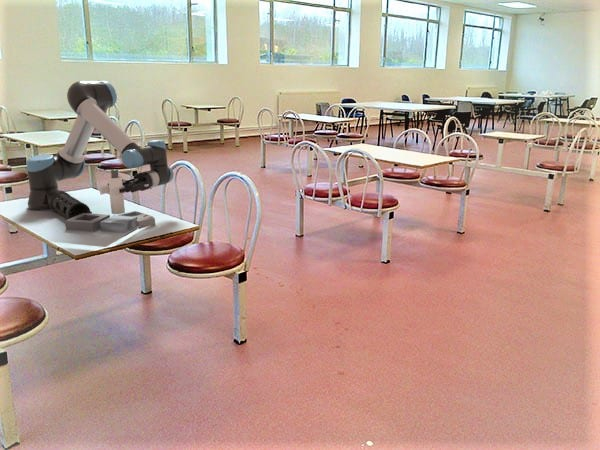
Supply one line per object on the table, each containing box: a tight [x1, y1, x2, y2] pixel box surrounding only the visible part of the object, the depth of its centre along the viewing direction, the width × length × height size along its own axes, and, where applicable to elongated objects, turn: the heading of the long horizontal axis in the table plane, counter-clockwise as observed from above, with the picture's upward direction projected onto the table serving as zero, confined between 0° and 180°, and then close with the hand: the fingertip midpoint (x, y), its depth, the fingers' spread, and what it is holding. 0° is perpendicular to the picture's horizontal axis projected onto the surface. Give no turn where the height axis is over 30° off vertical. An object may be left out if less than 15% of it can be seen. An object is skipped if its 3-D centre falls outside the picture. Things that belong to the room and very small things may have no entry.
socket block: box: [64, 212, 111, 233], centre depth 208 cm, size 12×12×5 cm
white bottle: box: [107, 168, 126, 215], centre depth 202 cm, size 5×5×17 cm
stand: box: [100, 214, 138, 237], centre depth 206 cm, size 10×10×5 cm
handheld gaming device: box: [117, 210, 156, 230], centre depth 218 cm, size 9×15×4 cm, turn 52°
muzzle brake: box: [48, 189, 93, 220], centre depth 225 cm, size 10×28×10 cm
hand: (106, 191), depth 197 cm, fingers closed on white bottle, 5 cm apart
